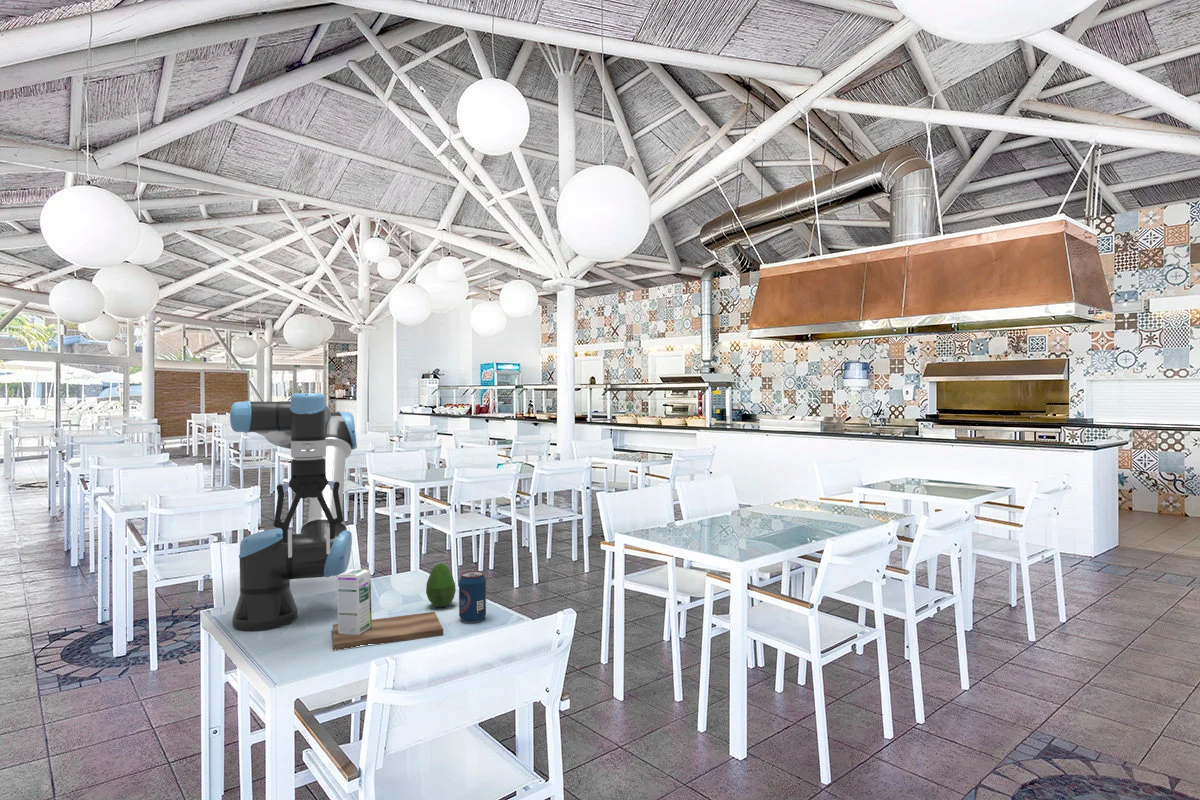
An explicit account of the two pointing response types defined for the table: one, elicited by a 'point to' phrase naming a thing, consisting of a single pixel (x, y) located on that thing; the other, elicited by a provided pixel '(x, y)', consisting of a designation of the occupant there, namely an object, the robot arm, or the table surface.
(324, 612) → the table surface
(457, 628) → the table surface
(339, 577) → the syrup box
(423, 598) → the table surface
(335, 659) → the table surface
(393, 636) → the walnut board
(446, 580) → the avocado
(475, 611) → the soda can
